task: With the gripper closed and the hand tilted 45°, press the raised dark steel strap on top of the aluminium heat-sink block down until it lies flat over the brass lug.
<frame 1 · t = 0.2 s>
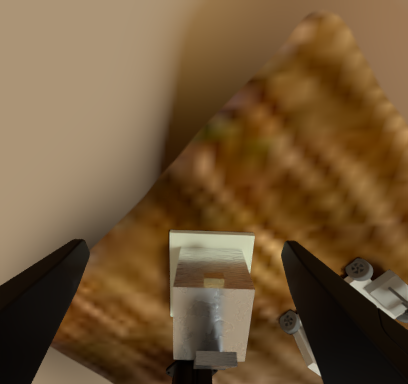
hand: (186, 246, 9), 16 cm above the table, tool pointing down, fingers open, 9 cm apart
board: (209, 275, 28), on the table
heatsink: (210, 297, 24), on the board, point 4 cm above the table
toy car: (344, 301, 30), on the table
strap: (212, 361, 18), point 11 cm above the table, hinge at 30.0°
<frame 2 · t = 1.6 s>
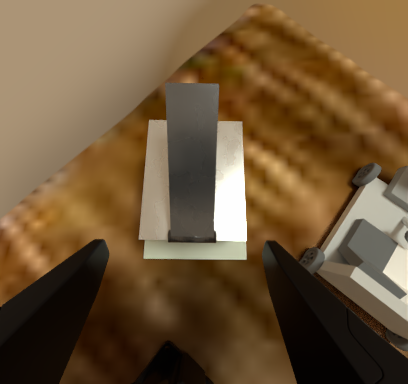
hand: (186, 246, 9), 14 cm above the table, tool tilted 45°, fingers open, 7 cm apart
board: (196, 196, 23), on the table
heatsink: (195, 183, 19), on the board, point 4 cm above the table
toy car: (374, 237, 23), on the table
strap: (192, 172, 13), point 11 cm above the table, hinge at 30.0°
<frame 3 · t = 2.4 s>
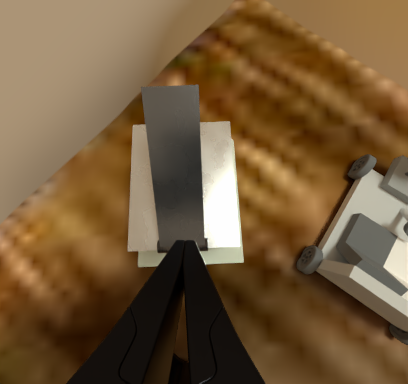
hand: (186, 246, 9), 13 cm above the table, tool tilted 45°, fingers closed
board: (189, 199, 23), on the table
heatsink: (186, 187, 19), on the board, point 4 cm above the table
toy car: (373, 230, 23), on the table
strap: (178, 179, 12), point 11 cm above the table, hinge at 30.0°
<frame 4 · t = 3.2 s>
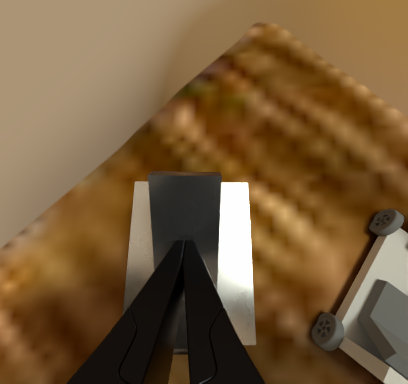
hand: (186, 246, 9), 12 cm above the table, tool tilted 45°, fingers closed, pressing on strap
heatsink: (192, 247, 16), on the board, point 4 cm above the table
toy car: (397, 293, 20), on the table
strap: (186, 274, 10), point 11 cm above the table, hinge at 30.0°, touching gripper
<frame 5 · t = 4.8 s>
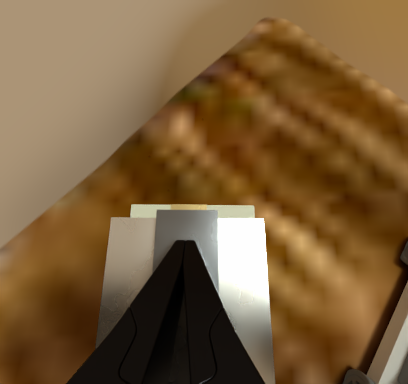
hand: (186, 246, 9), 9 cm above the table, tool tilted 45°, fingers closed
board: (191, 287, 17), on the table
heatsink: (189, 296, 13), on the board, point 4 cm above the table
strap: (184, 325, 9), point 8 cm above the table, hinge at -1.1°, touching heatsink
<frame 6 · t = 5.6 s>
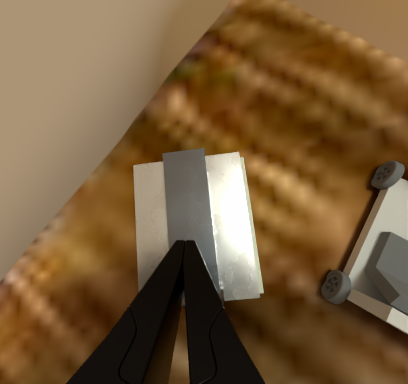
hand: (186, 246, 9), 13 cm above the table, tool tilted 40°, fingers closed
board: (201, 226, 21), on the table
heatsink: (196, 221, 17), on the board, point 4 cm above the table
toy car: (405, 243, 20), on the table
strap: (190, 223, 13), point 8 cm above the table, hinge at -1.0°, touching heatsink
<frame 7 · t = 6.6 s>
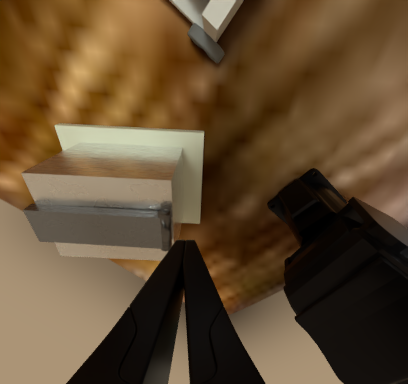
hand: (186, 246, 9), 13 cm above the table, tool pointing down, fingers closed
board: (139, 177, 22), on the table
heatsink: (120, 198, 18), on the board, point 4 cm above the table
strap: (103, 227, 15), point 8 cm above the table, hinge at -1.0°, touching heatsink
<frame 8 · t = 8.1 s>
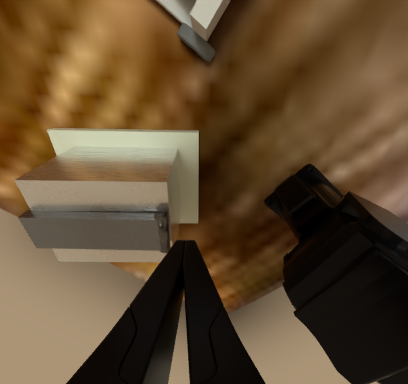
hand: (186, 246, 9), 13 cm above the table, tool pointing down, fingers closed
board: (135, 179, 22), on the table
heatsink: (117, 201, 18), on the board, point 4 cm above the table
strap: (100, 231, 15), point 8 cm above the table, hinge at -1.0°, touching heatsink
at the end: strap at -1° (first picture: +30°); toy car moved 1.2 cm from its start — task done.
